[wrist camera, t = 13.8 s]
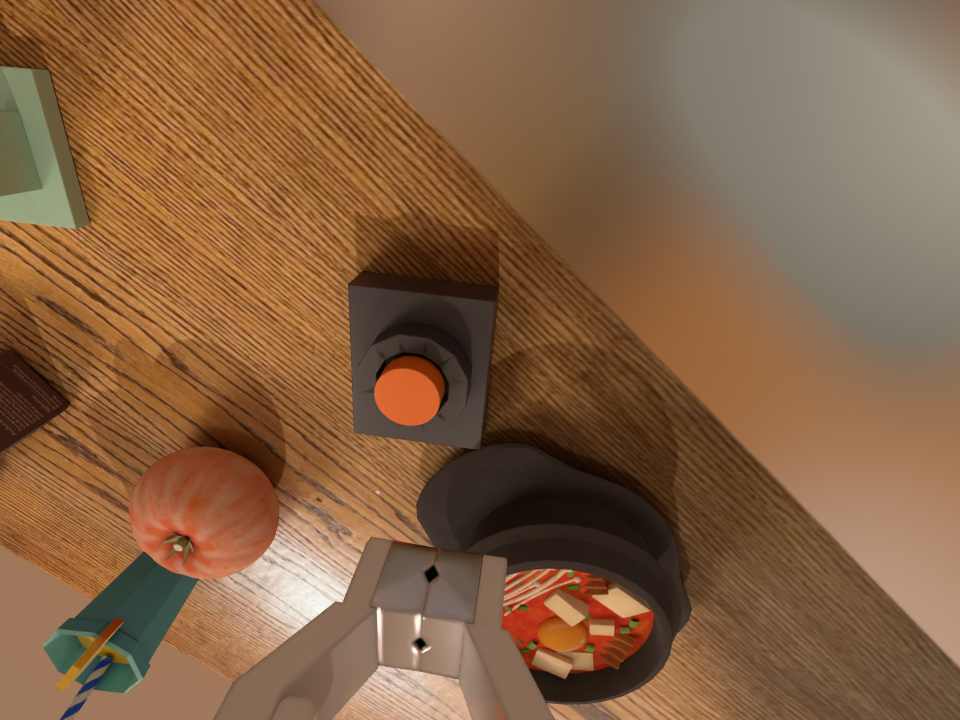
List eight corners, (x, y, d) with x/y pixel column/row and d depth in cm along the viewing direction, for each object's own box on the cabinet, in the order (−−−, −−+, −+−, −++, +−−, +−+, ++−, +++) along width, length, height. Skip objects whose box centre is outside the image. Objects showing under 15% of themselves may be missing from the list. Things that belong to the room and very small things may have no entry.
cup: (210, 615, 52) (94, 793, 38) (136, 589, 51) (-8, 760, 38) (229, 525, 45) (99, 700, 32) (145, 493, 45) (-24, 658, 32)
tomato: (172, 408, 40) (92, 474, 33) (304, 449, 40) (252, 522, 33) (172, 506, 45) (102, 581, 38) (289, 541, 45) (242, 622, 38)
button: (381, 350, 31) (373, 364, 29) (446, 359, 31) (441, 372, 29) (382, 406, 33) (374, 421, 31) (443, 414, 32) (438, 430, 31)
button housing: (361, 270, 33) (336, 293, 29) (499, 286, 33) (492, 312, 29) (365, 412, 38) (344, 448, 34) (484, 428, 38) (477, 467, 34)
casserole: (372, 502, 42) (335, 588, 35) (549, 380, 35) (550, 454, 28) (560, 664, 49) (563, 766, 41) (741, 589, 42) (783, 694, 34)
